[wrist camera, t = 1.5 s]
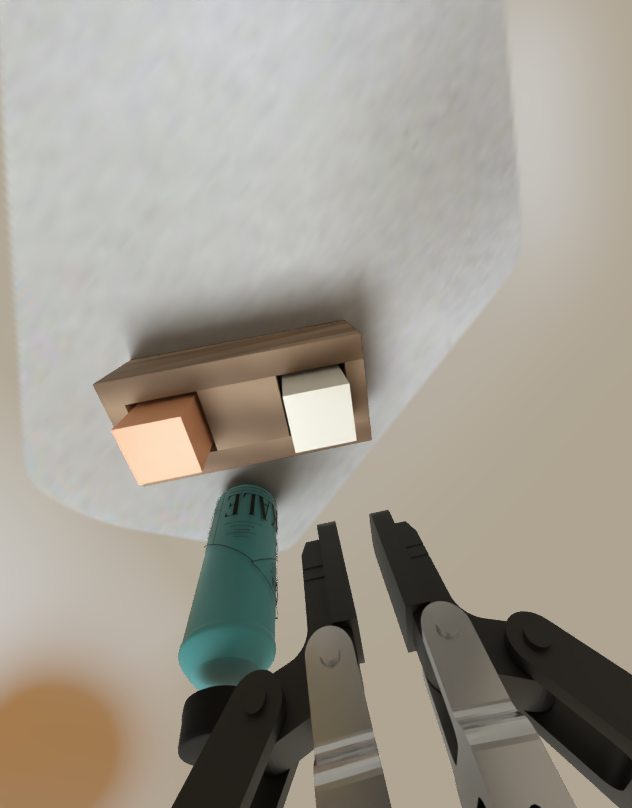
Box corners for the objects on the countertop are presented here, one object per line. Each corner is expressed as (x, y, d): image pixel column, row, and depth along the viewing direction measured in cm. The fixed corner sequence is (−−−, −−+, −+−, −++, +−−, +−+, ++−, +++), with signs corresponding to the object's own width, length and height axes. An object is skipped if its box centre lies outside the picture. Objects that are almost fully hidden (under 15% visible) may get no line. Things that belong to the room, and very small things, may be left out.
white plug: (281, 372, 24) (282, 396, 20) (336, 361, 25) (349, 383, 20) (292, 420, 26) (295, 453, 22) (343, 410, 26) (356, 440, 22)
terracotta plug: (142, 399, 24) (110, 430, 20) (198, 388, 24) (180, 416, 20) (163, 446, 26) (138, 484, 21) (215, 436, 26) (202, 472, 22)
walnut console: (130, 360, 27) (92, 384, 21) (344, 319, 27) (360, 333, 22) (167, 447, 31) (144, 486, 25) (355, 409, 31) (371, 439, 26)
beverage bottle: (229, 525, 36) (180, 796, 17) (208, 480, 33) (123, 747, 15) (284, 511, 36) (292, 766, 17) (268, 465, 33) (257, 712, 15)
